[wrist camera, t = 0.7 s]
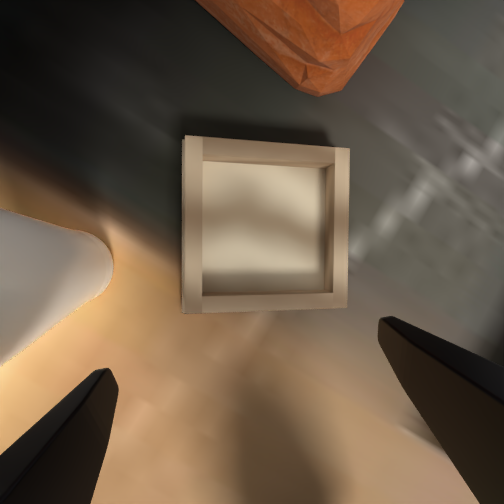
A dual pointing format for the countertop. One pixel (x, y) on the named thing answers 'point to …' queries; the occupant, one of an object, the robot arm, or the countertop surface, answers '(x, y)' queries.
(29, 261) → the white tumbler
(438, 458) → the countertop surface
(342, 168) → the square tray
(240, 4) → the bread
